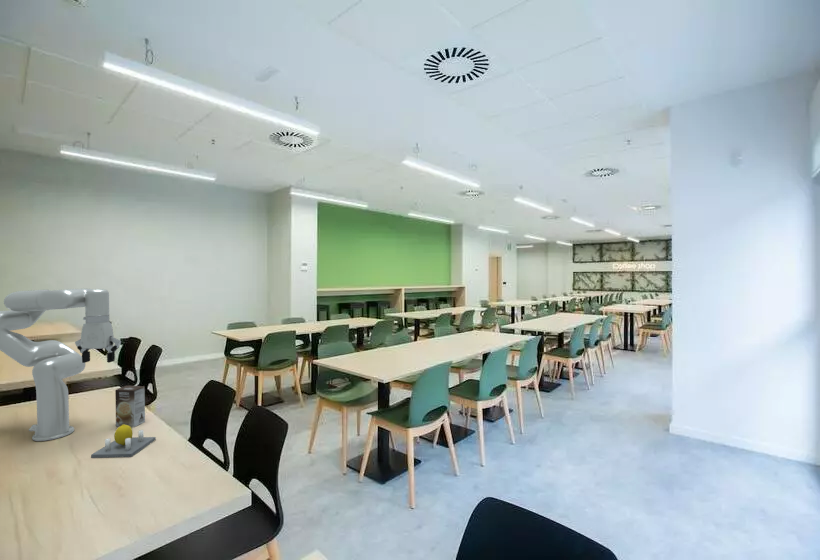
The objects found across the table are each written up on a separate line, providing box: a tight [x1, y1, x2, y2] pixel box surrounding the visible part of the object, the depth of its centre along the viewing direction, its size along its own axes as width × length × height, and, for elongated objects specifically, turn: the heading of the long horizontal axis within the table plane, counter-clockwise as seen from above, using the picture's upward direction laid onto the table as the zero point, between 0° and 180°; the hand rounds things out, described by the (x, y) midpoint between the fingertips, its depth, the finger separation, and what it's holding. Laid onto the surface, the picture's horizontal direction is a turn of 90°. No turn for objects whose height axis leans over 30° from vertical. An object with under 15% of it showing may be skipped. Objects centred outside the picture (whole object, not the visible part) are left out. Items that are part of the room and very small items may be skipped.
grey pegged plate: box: [90, 429, 157, 459], centre depth 145 cm, size 14×14×5 cm
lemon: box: [113, 424, 133, 446], centre depth 145 cm, size 6×6×8 cm
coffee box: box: [114, 385, 146, 428], centre depth 168 cm, size 9×6×16 cm
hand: (98, 361), depth 155 cm, fingers open, 9 cm apart
